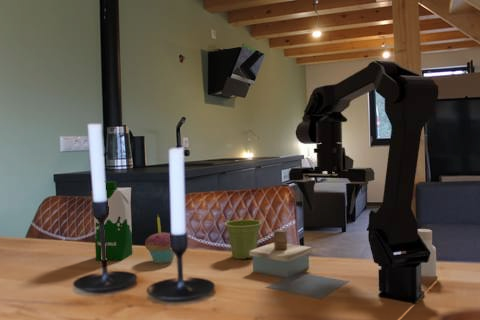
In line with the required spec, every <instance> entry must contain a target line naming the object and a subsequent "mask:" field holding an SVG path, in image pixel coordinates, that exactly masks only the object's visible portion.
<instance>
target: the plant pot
mask: <svg viewBox="0 0 480 320" xmlns="http://www.w3.org/2000/svg"><path fill="white" fill-rule="evenodd" d="M261 225H262V221H261V220H256V219H236V220H229V221H225V223H224V226H225V227H226V231H227V232H228V238H229V244H230V250H231V255H232V257H233V258H234V259H236V260H237V259H238V260H239V259H240V260H245V259H253V256H250V255H249V251H251V250H253V249H256V248H258V241H259V232H260V228H261Z"/></svg>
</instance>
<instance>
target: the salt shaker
mask: <svg viewBox="0 0 480 320" xmlns="http://www.w3.org/2000/svg"><path fill="white" fill-rule="evenodd" d="M418 234H419V236H420V237H421V239H422V240H423V242H424V243H425V245H426V246H427V248H428V249H429V251H430V253H431V254H430V257H429V261H428V262H427V263H421V277H425V278H426V277H429V278H433V277H434V278H436V277H437V249H436V247H435V245H433V230H431V229H428V228H418Z"/></svg>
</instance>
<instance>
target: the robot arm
mask: <svg viewBox="0 0 480 320" xmlns="http://www.w3.org/2000/svg"><path fill="white" fill-rule="evenodd" d="M374 90H375V93H377V94H378V95H379V96H380V97H381V98H383V99H384V113H385V114H386V117H387V119H388V121H389V123H390V126H391V129H390V130H391V132H390V139H389V147H388V155H387V156H388V157H387V162H386V163H387V164H386V171H385V179H384V180H385V181H384V189H383V196H382V203H381V205H380V206H379V208H378V209H370V211H369V213H368V225H367V228H366V231H367V232H368V234H367V236H368V237H367V238H368V243H369V248H370V251H371V257H372V259H373V263H374V264H376V265H377V266H378V267H379V269H378V271H377V272H378V291H379V293H378V294H377V296H378V297H379V298H384V299H389V300H395V301H398V302H399V301H400V302H404V303H410V304H412V305H416V304H417V303H418V302H419V301H420V299H422V297H424V296H425V291H424V290H422V276H421V263H427V262H428V261H429V257H430V254H431V253H430V251H429V249H428V248H427V246H426V245H425V243H424V242H423V240H422V239H421V237H420V236H419V234H418V229H419V222H418V220H417V217H416V215H415V212H414V211H413V209H412V205H413V204H412V203H413V196H414V190H415V189H414V187H415V183H416V173H417V167H418V159H419V153H420V147H421V146H420V145H421V140H422V139H421V137H422V131H423V128H424V127H425V125H426V124H427V123H428V121H429V120H430V119H431V117H432V116H433V115H434V111H435V109H436V106H437V105H436V104H437V102H438V98H439V87H438V84H436V82H435V80H434V79H432V78H431V77H429V76H423V75H421V74H419V73H417V72H414V71H412V70H409V69H407V68H404V67H402V66H401V65H400V64H399V63H396V62H395V61H392V60H378V59H377V60H373V61H371V62H369V63H368V65H367V66H365V67H364V68H362V69H360V70H359V71H357V72H355V73H353V74H351V75H349V76H348V77H346V78H345V79H343V80H341V81H339V82H337V83H334V84H327V85H321V86H317V87H315V88H314V89H313V90H312V92H311V94H310V96H309V99H308V101H307V105H306V107H305V109H304V110H303V112H304V114H303V116H302V117H301V118H302V120H301V122H300V123H298V125H297V127H296V130H295V136H296V139H297V141H298V142H300V143H301V144H303V145H312V144H315V146H316V148H315V147H314V148H313V154H316V166H314V167H313V166H298V167H291V168H290V170H289V171H288V181H293V184H294V185H297V187H298V188H299V190H300V192H301V193H302V196H303V197H304V199H305V201H306V203H307V206H308V207H309V210H310V211H311V212H314V211H315V209H316V206H315V205H316V201H315V197H316V196H315V185H316V183H317V182H316V181H317V180H316V179H347V180H348V181H349V182H346V183H345V191H346V194H345V195H346V208H347V214H349V215H351V214H353V210H354V207H355V205H356V202H357V198H358V196H359V194H360V191H361V190H362V188H363V187H364V186H366V185H369V182H372V181H375V171H374V169H373V168H372V167H354V162H355V161H354V159H353V158H351V157H350V156H348V155H346V149H345V147H343V130H342V129H343V128H342V127H343V123H347V122H348V118H347V117H346V116H345V115H343V114H342V112H344V111H345V110H346V109H348V108H349V107H350V105H351V102H352V101H354V100H355V99H357V98H360V97H361V96H363V95H365V94H367V93H368V94H369V93H370V92H372V91H374ZM323 172H326V173H323ZM401 252H403V253H401ZM404 252H405V253H404ZM395 253H397V254H395Z"/></svg>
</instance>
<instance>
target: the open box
mask: <svg viewBox="0 0 480 320" xmlns="http://www.w3.org/2000/svg"><path fill="white" fill-rule="evenodd" d="M309 255H310V253H307V254H305V255H303V256H300V257H298V258H296V259H294V260H291V261H289V262H286V261H280V260H274V259H268V258H262V257H256V256H253V258H252V272H253V273H259V274H265V275H269V276H275V277H281V278H289V277H291V276H293V275H295V274H297V273H302V272H303V271H305V270H308V269H309V268H310V256H309Z"/></svg>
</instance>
